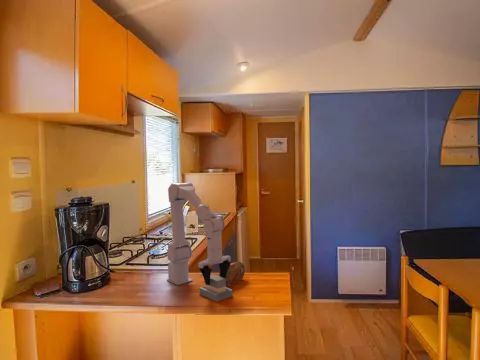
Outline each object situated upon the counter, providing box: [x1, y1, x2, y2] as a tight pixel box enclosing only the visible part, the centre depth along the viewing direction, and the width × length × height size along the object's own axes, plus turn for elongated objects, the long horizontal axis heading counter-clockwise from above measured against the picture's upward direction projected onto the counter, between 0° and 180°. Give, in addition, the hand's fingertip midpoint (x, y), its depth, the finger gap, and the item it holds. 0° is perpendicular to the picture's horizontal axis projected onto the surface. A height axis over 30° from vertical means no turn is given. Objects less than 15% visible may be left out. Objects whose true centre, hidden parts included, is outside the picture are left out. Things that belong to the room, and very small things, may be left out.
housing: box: [204, 273, 227, 294], centre depth 138 cm, size 4×8×6 cm, turn 42°
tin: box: [218, 261, 246, 287], centre depth 152 cm, size 15×3×8 cm, turn 143°
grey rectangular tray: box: [199, 285, 233, 302], centre depth 138 cm, size 11×8×2 cm
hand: (215, 282), depth 138 cm, fingers open, 7 cm apart
